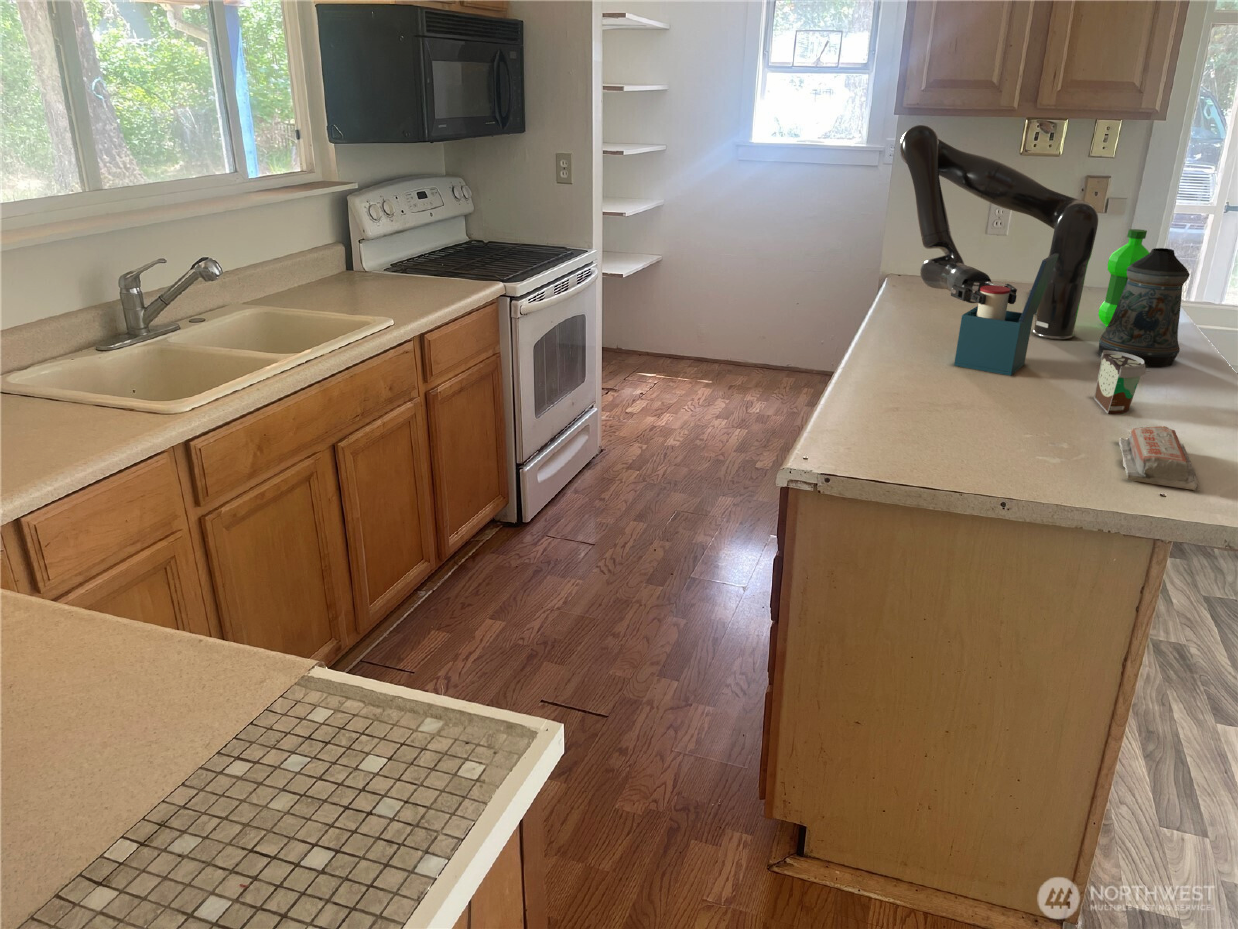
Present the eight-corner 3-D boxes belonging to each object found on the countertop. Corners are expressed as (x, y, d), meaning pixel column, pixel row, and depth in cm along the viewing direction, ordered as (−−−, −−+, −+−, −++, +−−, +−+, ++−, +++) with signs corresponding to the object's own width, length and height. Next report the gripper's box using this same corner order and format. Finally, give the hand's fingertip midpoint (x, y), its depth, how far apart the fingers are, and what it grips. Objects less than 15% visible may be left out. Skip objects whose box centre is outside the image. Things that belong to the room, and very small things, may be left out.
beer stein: (1103, 364, 200) (1129, 254, 190) (1088, 342, 217) (1110, 240, 207) (1185, 370, 196) (1215, 258, 186) (1162, 347, 213) (1189, 244, 203)
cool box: (953, 365, 200) (961, 315, 195) (968, 355, 207) (976, 306, 203) (1010, 375, 193) (1020, 323, 188) (1024, 364, 200) (1033, 314, 195)
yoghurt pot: (978, 327, 202) (985, 284, 198) (1006, 331, 198) (1014, 287, 194) (970, 332, 197) (976, 289, 193) (998, 337, 194) (1005, 292, 190)
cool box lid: (1042, 259, 181) (1046, 261, 181) (1055, 252, 189) (1059, 253, 188) (1019, 320, 188) (1023, 322, 187) (1032, 311, 196) (1036, 312, 195)
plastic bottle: (1129, 333, 225) (1152, 234, 215) (1087, 325, 232) (1108, 230, 222) (1144, 326, 231) (1167, 230, 221) (1102, 319, 238) (1123, 226, 228)
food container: (1144, 418, 168) (1157, 369, 164) (1110, 416, 169) (1122, 367, 165) (1124, 398, 179) (1135, 350, 175) (1091, 396, 180) (1102, 349, 176)
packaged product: (1205, 464, 136) (1133, 454, 139) (1197, 492, 138) (1126, 482, 141) (1188, 426, 151) (1123, 418, 154) (1181, 451, 153) (1117, 443, 156)
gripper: (940, 268, 206) (969, 283, 191) (1000, 267, 206) (1034, 282, 191) (936, 299, 209) (964, 316, 194) (995, 298, 209) (1027, 315, 194)
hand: (998, 299), depth 192 cm, fingers closed on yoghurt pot, 6 cm apart
